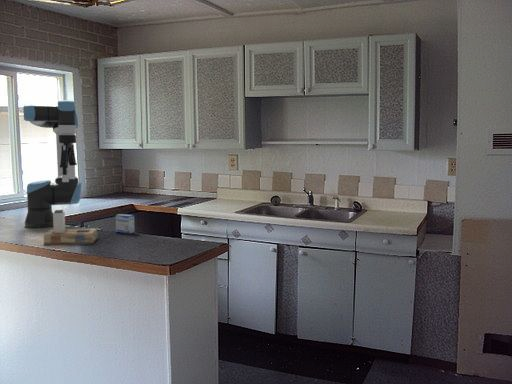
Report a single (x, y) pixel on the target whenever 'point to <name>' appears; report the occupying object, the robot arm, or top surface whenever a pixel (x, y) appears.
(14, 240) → the top surface
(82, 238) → the socket block
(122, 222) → the medicine box
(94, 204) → the top surface
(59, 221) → the plug
